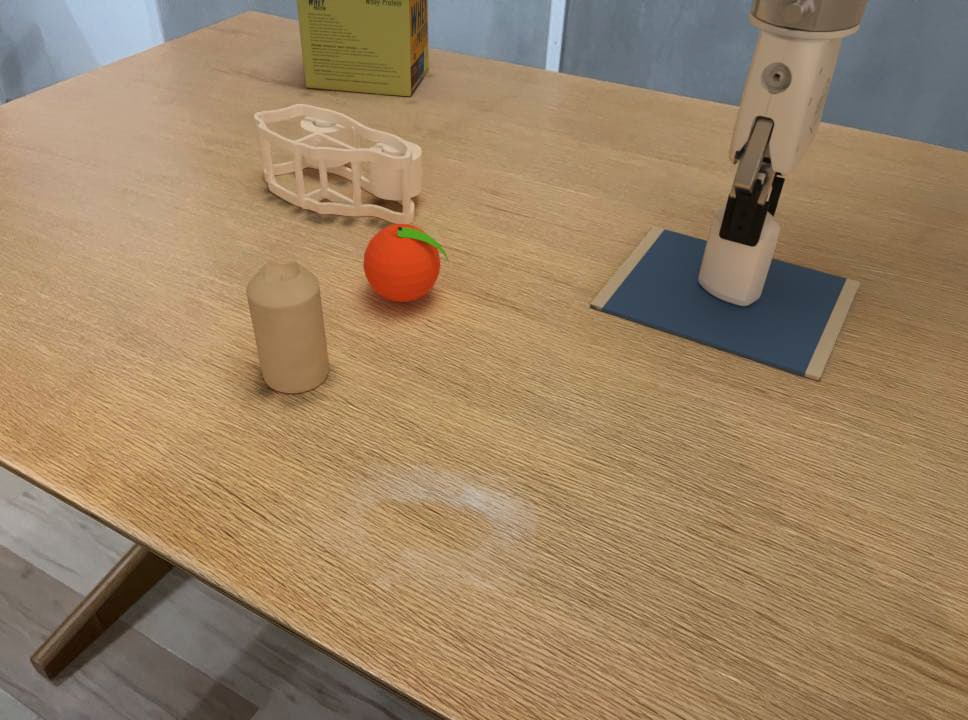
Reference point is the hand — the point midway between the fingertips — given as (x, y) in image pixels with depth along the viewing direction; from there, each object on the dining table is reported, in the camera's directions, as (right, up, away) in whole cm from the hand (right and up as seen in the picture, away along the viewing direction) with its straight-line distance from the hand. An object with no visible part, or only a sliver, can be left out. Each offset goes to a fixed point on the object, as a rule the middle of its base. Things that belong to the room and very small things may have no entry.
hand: (746, 227), depth 70 cm
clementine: (-29, -5, +6) cm, 30 cm away
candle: (-38, -13, -2) cm, 40 cm away
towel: (0, -5, +5) cm, 7 cm away
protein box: (-36, +31, +45) cm, 65 cm away
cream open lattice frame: (-37, +8, +20) cm, 43 cm away
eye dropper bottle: (0, -5, +5) cm, 7 cm away
